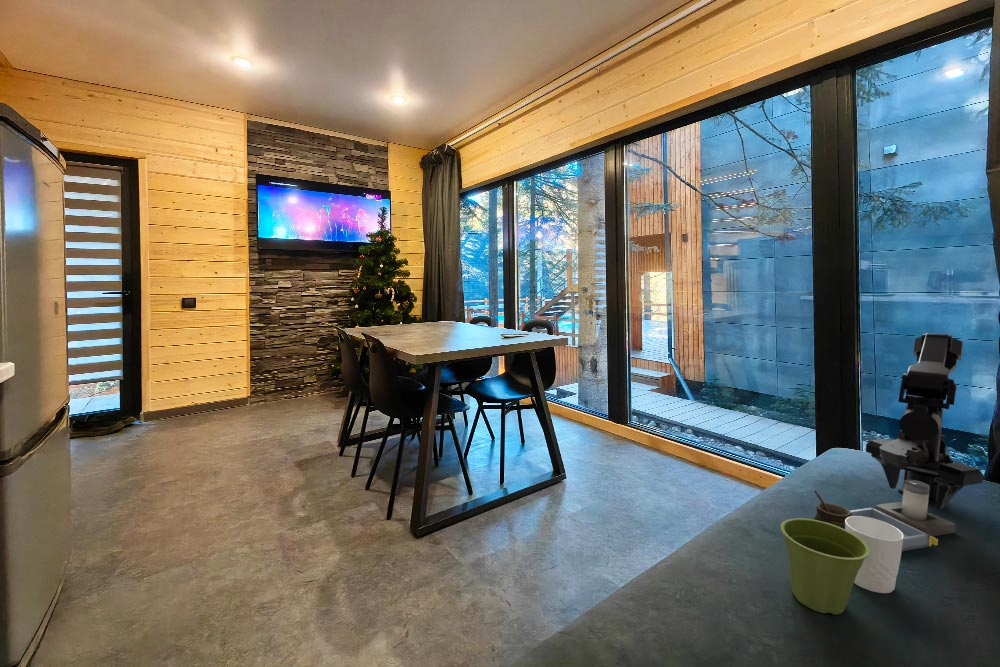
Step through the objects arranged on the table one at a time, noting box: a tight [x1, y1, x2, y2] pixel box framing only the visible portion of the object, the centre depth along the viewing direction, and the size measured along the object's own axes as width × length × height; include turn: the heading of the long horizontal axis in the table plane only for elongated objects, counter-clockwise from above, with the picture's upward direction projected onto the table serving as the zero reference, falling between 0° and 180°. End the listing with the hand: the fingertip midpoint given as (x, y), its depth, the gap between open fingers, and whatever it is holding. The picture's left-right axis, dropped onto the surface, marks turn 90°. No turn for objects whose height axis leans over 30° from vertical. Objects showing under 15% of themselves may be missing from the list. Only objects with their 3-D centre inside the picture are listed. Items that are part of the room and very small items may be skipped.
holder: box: [874, 500, 956, 537], centre depth 96 cm, size 10×8×2 cm
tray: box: [849, 507, 930, 552], centre depth 92 cm, size 11×9×2 cm
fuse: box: [901, 480, 930, 522], centre depth 96 cm, size 4×4×9 cm
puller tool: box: [929, 536, 939, 547], centre depth 92 cm, size 9×2×1 cm, turn 12°
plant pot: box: [780, 517, 870, 616], centre depth 73 cm, size 12×12×11 cm
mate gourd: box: [813, 490, 851, 529], centre depth 88 cm, size 7×8×10 cm
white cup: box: [845, 516, 904, 594], centre depth 77 cm, size 8×8×10 cm
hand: (915, 497), depth 96 cm, fingers open, 9 cm apart
